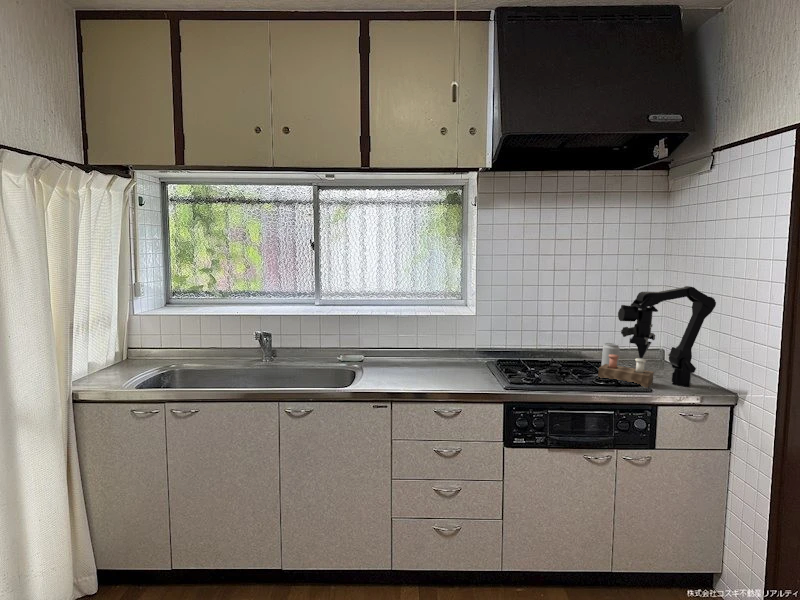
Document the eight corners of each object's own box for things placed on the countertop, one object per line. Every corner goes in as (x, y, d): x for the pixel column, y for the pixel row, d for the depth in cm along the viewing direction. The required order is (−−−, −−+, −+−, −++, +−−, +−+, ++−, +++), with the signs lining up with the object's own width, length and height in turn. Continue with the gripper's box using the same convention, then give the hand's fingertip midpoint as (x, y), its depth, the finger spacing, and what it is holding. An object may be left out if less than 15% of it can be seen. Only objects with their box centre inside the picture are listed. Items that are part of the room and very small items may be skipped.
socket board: (652, 383, 221) (653, 371, 221) (647, 387, 214) (648, 375, 213) (604, 374, 234) (605, 363, 233) (597, 378, 226) (598, 367, 225)
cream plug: (645, 373, 220) (647, 359, 220) (643, 375, 217) (644, 361, 216) (635, 371, 223) (636, 357, 222) (633, 373, 219) (634, 359, 219)
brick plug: (619, 368, 227) (620, 355, 226) (616, 370, 223) (617, 356, 223) (609, 367, 229) (610, 353, 229) (606, 368, 226) (607, 355, 225)
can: (615, 371, 241) (617, 345, 240) (599, 368, 246) (601, 343, 245) (619, 368, 247) (621, 343, 246) (603, 365, 252) (605, 341, 251)
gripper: (629, 317, 230) (626, 352, 231) (618, 321, 215) (615, 358, 217) (656, 320, 223) (653, 355, 225) (647, 324, 208) (643, 362, 210)
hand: (641, 358), depth 219 cm, fingers closed
